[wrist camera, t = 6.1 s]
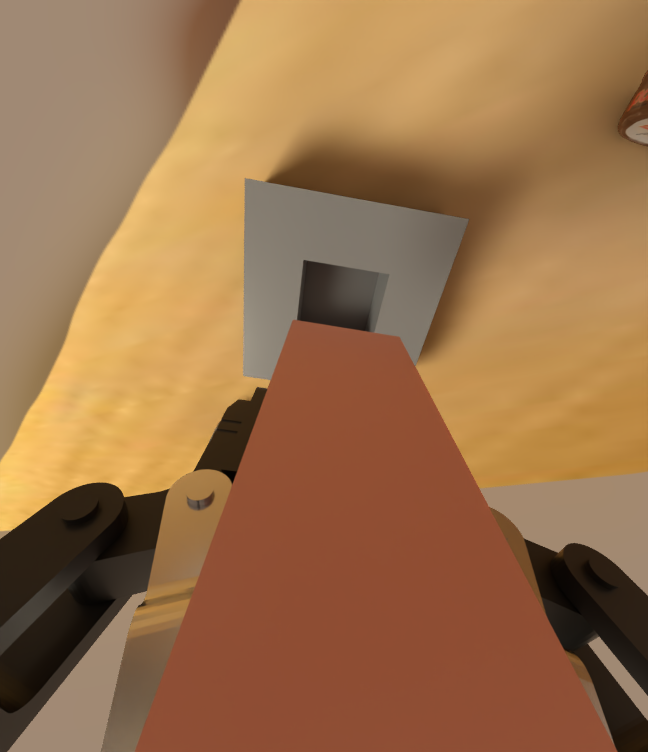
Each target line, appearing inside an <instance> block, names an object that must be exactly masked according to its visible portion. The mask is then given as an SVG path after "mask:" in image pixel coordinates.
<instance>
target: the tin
mask: <svg viewBox="0 0 648 752" xmlns="http://www.w3.org/2000/svg"><path fill="white" fill-rule="evenodd" d="M618 132H619V134H620V135H621V136H622V137H624V138H626V139H627V140H630V141H632V142H635V143H638V144H641V145H645V146H648V71H647V72H646V73H645V75H644V77H643V79H642V83H641V85H640V87H639V88H638V90H637V92H636V93H635V95H634V97H633V98H632V100H631V102H630V103H629V105H628V107H627V108H626V110H625V112H624V114H623V115H622V117H621V119H620V122H619V124H618Z"/></svg>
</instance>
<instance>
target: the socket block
mask: <svg viewBox="0 0 648 752" xmlns="http://www.w3.org/2000/svg"><path fill="white" fill-rule="evenodd" d="M468 222H469V219H466V218H460V217H455V216H449V215H444V214H438V213H433V212H427V211H422V210H416V209H411V208H405V207H400V206H394V205H389V204H383V203H378V202H372V201H367V200H361V199H356V198H350V197H345V196H339V195H334V194H329V193H323V192H318V191H312V190H307V189H301V188H296V187H290V186H285V185H279V184H274V183H268V182H263V181H257V180H252V179H246V178H245V229H244V348H243V376H247V377H254V378H261V379H268V380H271V378H272V375H273V373H274V370H275V367H276V364H277V362H278V359H279V356H280V354H281V351H282V348H283V345H284V343H285V340H286V337H287V334H288V332H289V329H290V326H291V323H292V321H293V320H299V321H305V322H311V323H317V324H324V325H330V326H336V327H342V328H348V329H354V330H361V331H367V332H373V333H379V334H385V335H391V336H398V337H400V339H401V341H402V342H403V344H404V346H405V348H406V350H407V352H408V354H409V356H410V358H411V360H412V362H413V363H414V365H415V366H416V363H417V361H418V358H419V355H420V352H421V350H422V347H423V344H424V341H425V339H426V336H427V333H428V331H429V328H430V325H431V322H432V320H433V317H434V314H435V311H436V309H437V306H438V303H439V301H440V298H441V295H442V292H443V290H444V287H445V284H446V281H447V279H448V276H449V273H450V271H451V268H452V265H453V262H454V260H455V257H456V254H457V251H458V249H459V246H460V243H461V241H462V238H463V235H464V232H465V230H466V227H467V224H468Z"/></svg>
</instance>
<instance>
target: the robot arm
mask: <svg viewBox="0 0 648 752" xmlns="http://www.w3.org/2000/svg"><path fill="white" fill-rule="evenodd" d="M266 392H267V389H266V388H259V387H257V388H256V390H255V393H254V395H253V397H252V399H251V401H246V400H237V401H236V402H235V403H233V404H232V405H231V406H229V407H228V408H227V410H226V412H225V414H224V415H223V417H222V420H221V421H220V423H219V425H218V427H217V429H216V431H215V432H214V434H213V436H212V438H211V440H210V442H209V444H208V445H207V447H206V449H205V451H204V453H203V455H202V457H201V458H200V460H199V462H198V464H197V466H196V468H195V469H194V471H193V472H191V473H189V474H186V475H185V476H183V477H181V478H180V479H179V480H177V481H176V482H175V483H174V484H173V485H172V487H171V488H170V489H167V490H164V491H161V492H156V493H150V494H143V495H136V496H130V497H124V496H123V493H122V491H121V490H120V489H119V488H118V487H116V486H115V485H112V484H109V483H91V484H86V485H82V486H79V487H76V488H74V489H72V490H69V491H67V492H66V493H64V494H62V495H60V496H59V497H57V498H56V499H54V500H53V501H52V502H50V503H49V504H48V505H46V506H45V507H43V508H42V509H41V510H39V511H38V512H37V513H35V514H34V515H33V516H31V517H30V518H28V519H27V520H26V521H24V522H23V523H22V524H20V525H19V526H18V527H16V528H15V529H13V530H12V531H11V532H9V533H8V534H7V535H5V536H4V537H2V538H1V539H0V752H7V751H8V750H9V749H10V747H11V746H12V745H13V744H14V742H15V741H16V740H17V739H18V737H19V736H20V735H21V734H22V732H23V731H24V730H25V729H26V727H27V726H28V725H29V724H30V722H31V721H32V720H33V719H34V717H35V716H36V715H37V714H38V712H39V711H40V710H41V709H42V707H43V706H44V705H45V704H46V702H47V701H48V700H49V698H50V697H51V696H52V695H53V694H54V692H55V691H56V690H57V689H58V687H59V686H60V685H61V684H62V682H63V681H64V680H65V679H66V677H67V676H68V675H69V674H70V672H71V671H72V670H73V668H74V667H75V666H76V665H77V664H78V662H79V661H80V660H81V659H82V657H83V656H84V655H85V654H86V652H87V651H88V650H89V649H90V647H91V646H92V645H93V644H94V642H95V641H96V640H97V638H98V637H99V636H100V635H101V633H102V632H103V631H104V630H105V628H106V627H107V626H108V625H109V623H110V622H111V621H112V620H113V618H114V617H115V616H116V615H117V614H118V612H119V611H120V610H121V609H122V607H123V606H124V605H125V604H126V602H127V601H128V600H129V598H130V597H131V596H132V595H133V594H137V593H141V592H145V591H147V593H146V596H145V599H144V601H143V603H142V604H141V605H139V606H138V607H137V609H136V611H135V613H134V616H133V619H132V621H131V624H130V628H129V632H128V635H127V640H126V644H125V648H124V653H123V657H122V661H121V666H120V670H119V675H118V679H117V684H116V688H115V692H114V697H113V702H112V706H111V710H110V714H109V719H108V723H107V728H106V732H105V736H104V741H103V745H102V750H101V752H135V749H136V746H137V744H138V741H139V738H140V736H141V733H142V730H143V727H144V725H145V722H146V719H147V716H148V714H149V711H150V708H151V705H152V703H153V700H154V697H155V695H156V692H157V689H158V686H159V684H160V681H161V678H162V675H163V673H164V670H165V667H166V665H167V662H168V659H169V656H170V654H171V651H172V648H173V645H174V643H175V640H176V637H177V635H178V632H179V629H180V626H181V624H182V621H183V618H184V615H185V613H186V610H187V607H188V605H189V602H190V599H191V596H192V594H193V591H194V588H195V585H196V583H197V580H198V577H199V575H200V572H201V569H202V566H203V564H204V561H205V558H206V555H207V553H208V550H209V547H210V545H211V542H212V539H213V536H214V534H215V531H216V528H217V525H218V523H219V520H220V517H221V514H222V512H223V509H224V506H225V504H226V501H227V498H228V495H229V493H230V490H231V487H232V484H233V482H234V479H235V476H236V474H237V471H238V468H239V465H240V463H241V460H242V457H243V454H244V452H245V449H246V446H247V444H248V441H249V438H250V435H251V433H252V430H253V427H254V424H255V422H256V419H257V416H258V414H259V411H260V408H261V405H262V403H263V400H264V397H265V394H266ZM489 508H490V507H489ZM490 510H491V512H492V514H493V516H494V518H495V519H496V521H497V523H498V525H499V527H500V529H501V531H502V533H503V535H504V537H505V539H506V540H507V542H508V544H509V546H510V548H511V550H512V552H513V554H514V556H515V558H516V559H517V561H518V563H519V565H520V567H521V569H522V571H523V573H524V575H525V577H526V579H527V580H528V582H529V584H530V586H531V588H532V590H533V592H534V594H535V596H536V598H537V599H538V601H539V603H540V605H541V607H542V609H543V611H544V613H545V615H546V617H547V618H548V620H549V622H550V624H551V626H552V628H553V630H554V632H555V634H556V636H557V638H558V639H559V641H560V643H561V645H562V647H563V649H564V651H565V653H566V655H567V657H568V658H569V660H570V662H571V664H572V666H573V668H574V670H575V672H576V674H577V676H578V677H579V679H580V681H581V683H582V685H583V687H584V689H585V691H586V693H587V695H588V697H589V698H590V700H591V702H592V704H593V706H594V708H595V710H596V712H597V714H598V716H599V717H600V719H601V721H602V723H603V725H604V727H605V729H606V731H607V733H608V735H609V736H610V738H611V740H612V742H613V744H614V746H615V748H616V750H617V752H648V720H647V719H646V718H645V717H644V716H643V715H642V713H641V712H640V711H639V709H638V708H637V707H636V706H635V704H634V703H633V702H632V700H631V699H630V698H629V696H628V695H627V694H626V693H625V691H624V690H623V689H622V688H621V686H620V685H619V684H618V682H617V681H616V680H615V679H614V677H613V676H612V675H611V673H610V672H609V671H608V669H607V668H606V667H605V666H604V664H603V663H602V662H601V660H600V659H599V658H598V657H597V655H596V654H595V653H594V652H593V650H592V649H591V648H590V646H589V645H588V643H589V642H591V641H592V640H594V639H596V638H597V637H600V638H601V639H602V640H603V641H604V643H605V644H606V645H607V646H608V648H609V649H610V650H611V651H612V653H613V654H614V655H615V656H616V657H617V659H618V660H619V661H620V662H621V663H622V665H623V666H624V667H625V668H626V670H627V671H628V672H629V673H630V675H631V676H632V677H633V678H634V679H635V681H636V682H637V683H638V684H639V685H640V687H641V688H642V689H643V690H644V692H645V693H646V694H647V695H648V596H647V595H646V594H645V593H644V592H643V591H642V590H641V589H640V588H639V587H638V586H637V585H636V584H635V583H634V582H633V581H632V580H631V579H630V578H629V577H628V576H627V575H626V574H625V573H624V572H623V571H622V570H621V569H620V568H619V567H618V566H617V565H616V564H614V563H613V562H612V561H611V560H609V559H608V558H607V557H605V556H604V555H602V554H601V553H599V552H598V551H596V550H594V549H592V548H590V547H588V546H585V545H582V544H577V543H571V544H568V545H566V546H565V547H564V548H563V549H562V550H561V551H560V552H559V553H557V552H554V551H552V550H550V549H548V548H545V547H543V546H540V545H538V544H535V543H533V542H531V541H528V540H526V539H524V538H523V536H522V535H521V533H520V531H519V530H518V529H517V527H516V526H515V525H514V524H513V523H512V522H511V521H510V520H509V519H508V518H507V517H506V516H504V515H503V514H502V513H500V512H498V511H497V510H495V509H493V508H490Z"/></svg>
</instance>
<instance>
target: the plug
mask: <svg viewBox="0 0 648 752" xmlns="http://www.w3.org/2000/svg"><path fill="white" fill-rule="evenodd" d="M135 752H617V750H616V748H615V746H614V744H613V742H612V740H611V738H610V736H609V735H608V733H607V731H606V729H605V727H604V725H603V723H602V721H601V719H600V717H599V716H598V714H597V712H596V710H595V708H594V706H593V704H592V702H591V700H590V698H589V697H588V695H587V693H586V691H585V689H584V687H583V685H582V683H581V681H580V679H579V677H578V676H577V674H576V672H575V670H574V668H573V666H572V664H571V662H570V660H569V658H568V657H567V655H566V653H565V651H564V649H563V647H562V645H561V643H560V641H559V639H558V638H557V636H556V634H555V632H554V630H553V628H552V626H551V624H550V622H549V620H548V618H547V617H546V615H545V613H544V611H543V609H542V607H541V605H540V603H539V601H538V599H537V598H536V596H535V594H534V592H533V590H532V588H531V586H530V584H529V582H528V580H527V579H526V577H525V575H524V573H523V571H522V569H521V567H520V565H519V563H518V561H517V559H516V558H515V556H514V554H513V552H512V550H511V548H510V546H509V544H508V542H507V540H506V539H505V537H504V535H503V533H502V531H501V529H500V527H499V525H498V523H497V521H496V519H495V518H494V516H493V514H492V512H491V510H490V508H489V506H488V504H487V502H486V501H485V499H484V497H483V495H482V493H481V491H480V489H479V487H478V485H477V483H476V481H475V480H474V478H473V476H472V474H471V472H470V470H469V468H468V466H467V464H466V462H465V460H464V459H463V457H462V455H461V453H460V451H459V449H458V447H457V445H456V443H455V441H454V440H453V438H452V436H451V434H450V432H449V430H448V428H447V426H446V424H445V422H444V421H443V419H442V417H441V415H440V413H439V411H438V409H437V407H436V405H435V403H434V401H433V400H432V398H431V396H430V394H429V392H428V390H427V388H426V386H425V384H424V382H423V381H422V379H421V377H420V375H419V373H418V371H417V369H416V367H415V365H414V363H413V362H412V360H411V358H410V356H409V354H408V352H407V350H406V348H405V346H404V344H403V342H402V341H401V339H400V337H398V336H391V335H385V334H379V333H373V332H367V331H361V330H354V329H348V328H342V327H336V326H330V325H324V324H317V323H311V322H305V321H299V320H293V321H292V323H291V326H290V329H289V332H288V334H287V337H286V340H285V343H284V345H283V348H282V351H281V354H280V356H279V359H278V362H277V364H276V367H275V370H274V373H273V375H272V378H271V381H270V384H269V386H268V389H267V392H266V394H265V397H264V400H263V403H262V405H261V408H260V411H259V414H258V416H257V419H256V422H255V424H254V427H253V430H252V433H251V435H250V438H249V441H248V444H247V446H246V449H245V452H244V454H243V457H242V460H241V463H240V465H239V468H238V471H237V474H236V476H235V479H234V482H233V484H232V487H231V490H230V493H229V495H228V498H227V501H226V504H225V506H224V509H223V512H222V514H221V517H220V520H219V523H218V525H217V528H216V531H215V534H214V536H213V539H212V542H211V545H210V547H209V550H208V553H207V555H206V558H205V561H204V564H203V566H202V569H201V572H200V575H199V577H198V580H197V583H196V585H195V588H194V591H193V594H192V596H191V599H190V602H189V605H188V607H187V610H186V613H185V615H184V618H183V621H182V624H181V626H180V629H179V632H178V635H177V637H176V640H175V643H174V645H173V648H172V651H171V654H170V656H169V659H168V662H167V665H166V667H165V670H164V673H163V675H162V678H161V681H160V684H159V686H158V689H157V692H156V695H155V697H154V700H153V703H152V705H151V708H150V711H149V714H148V716H147V719H146V722H145V725H144V727H143V730H142V733H141V736H140V738H139V741H138V744H137V746H136V749H135Z"/></svg>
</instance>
